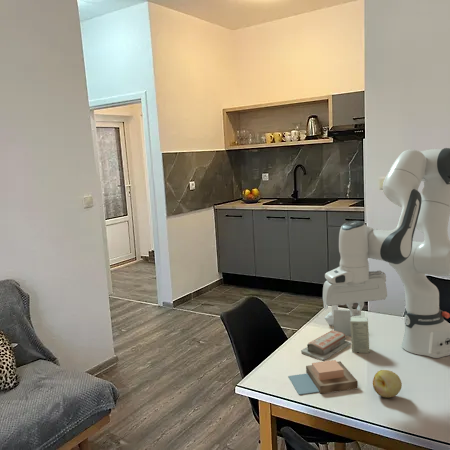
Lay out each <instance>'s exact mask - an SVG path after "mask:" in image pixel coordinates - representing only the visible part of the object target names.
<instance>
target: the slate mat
mask: <svg viewBox="0 0 450 450" xmlns="http://www.w3.org/2000/svg"><path fill="white" fill-rule="evenodd" d="M288 379H289V380H290V382H291V384H292V385H293V388H294V389H295V391H296V393H297V394H298V396H303V395H309V394H316V393H320V392H319V390H318V389H317V387H316V386H315V384H314V383H313V381H312V380H311V378H310V377H309V375H308V374H307V373H300V374H293V375H288Z"/></svg>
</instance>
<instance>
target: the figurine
mask: <svg viewBox="0 0 450 450" xmlns="http://www.w3.org/2000/svg"><path fill="white" fill-rule="evenodd" d="M344 305H346V304H342V305H341V306H344ZM328 308H329V306H328V305H326V304H325V303H324V302H323V309H324V310H325V311H326V310H328ZM334 310H339V305H334V306H331V311H328V313H327V314H326V315H325V316H324V319H325V322H326V323H327V324H328V325H329V326H333V327H334Z"/></svg>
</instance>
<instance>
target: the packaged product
mask: <svg viewBox="0 0 450 450" xmlns="http://www.w3.org/2000/svg"><path fill="white" fill-rule="evenodd" d="M350 345H352V341H347V336H345V334H343V333H341V332H338V331H334V329H332V330H331V331H328V332H326V333H325V334H322V335H321V336H319V337H317V338H315V339H313V340H311V341H310V342H308V343H307V346H306V347H305V348H303V349H301V350H300V352H301V354H302V355H305V356H308V357H310V358H313V359H316V360H320V361H321V362H324V361H325V360H327V359H328V358H330V357H332V356H333V355H336V354H338V352H341V351H342V350H344V349H345V348H346V347H349V346H350ZM343 348H344V349H343ZM340 350H341V351H340Z"/></svg>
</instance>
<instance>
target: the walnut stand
mask: <svg viewBox="0 0 450 450" xmlns="http://www.w3.org/2000/svg"><path fill="white" fill-rule="evenodd" d="M337 363H338V364H339V365H340V366H341V367H342V368H343V370H344V377H340V378H333V379H326V380H319V379H318V378H317V376H316V375H315V373H314V372H313V371H312V364H310V365H306V366H305V374H308V375H309V377H310V378H311V380H312V381H313V383H314V384H315V386H316V387H317V389H318V390H319V392H318V393H319V394H321V395H322V394H329V393H336V392H344V391H351V390H356V389H357V390H358V388H359V386H358V385H359V382H358V380H357V379H356V377H354V375H353V374H352V373H351V371H349V369H348V368H347V367H346V366H345V365H344V364H343V362H341V360H340V361H337Z"/></svg>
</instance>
